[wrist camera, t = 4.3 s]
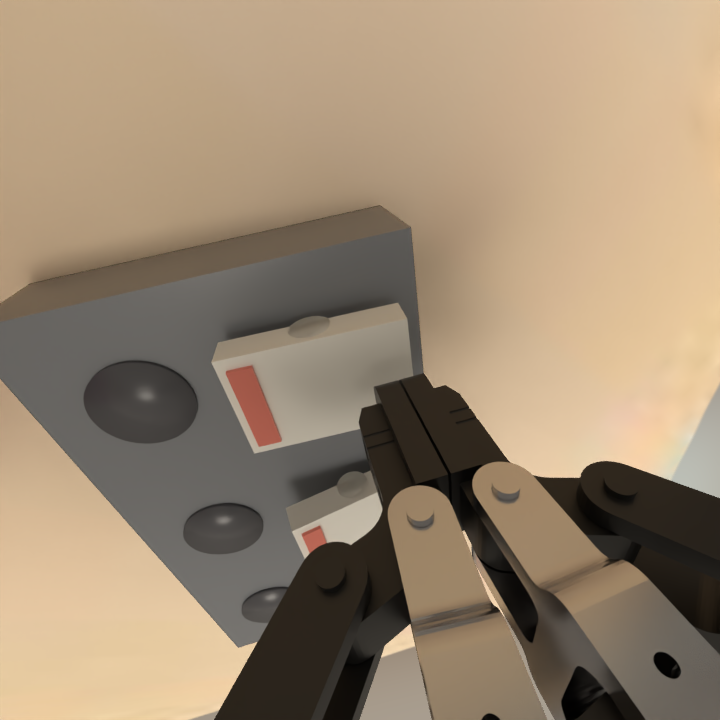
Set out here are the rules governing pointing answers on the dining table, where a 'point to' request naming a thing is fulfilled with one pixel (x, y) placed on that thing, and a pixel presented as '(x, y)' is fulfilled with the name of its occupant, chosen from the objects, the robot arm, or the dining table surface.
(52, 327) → the grey control panel
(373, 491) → the rocker
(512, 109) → the dining table surface
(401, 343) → the rocker
